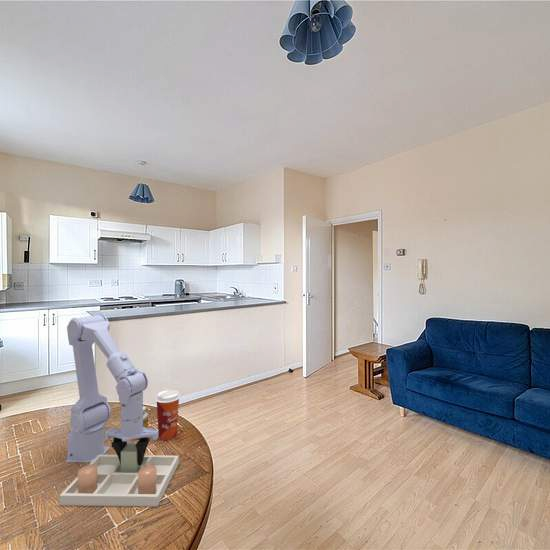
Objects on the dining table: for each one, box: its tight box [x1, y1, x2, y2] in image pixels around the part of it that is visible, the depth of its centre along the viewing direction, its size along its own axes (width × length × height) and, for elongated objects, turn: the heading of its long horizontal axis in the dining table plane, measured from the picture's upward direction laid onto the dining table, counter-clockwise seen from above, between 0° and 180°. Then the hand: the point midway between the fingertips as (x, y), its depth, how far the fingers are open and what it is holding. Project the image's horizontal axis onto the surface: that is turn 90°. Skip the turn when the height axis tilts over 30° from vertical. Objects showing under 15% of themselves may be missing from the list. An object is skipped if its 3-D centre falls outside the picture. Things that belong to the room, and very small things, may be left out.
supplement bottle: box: [143, 405, 149, 428], centre depth 107 cm, size 5×5×10 cm
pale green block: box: [121, 442, 143, 473], centre depth 86 cm, size 4×4×6 cm
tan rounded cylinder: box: [77, 464, 98, 494], centre depth 78 cm, size 4×4×6 cm
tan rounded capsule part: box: [138, 465, 157, 494], centre depth 78 cm, size 4×4×6 cm
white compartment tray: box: [58, 454, 180, 508], centre depth 82 cm, size 24×16×3 cm
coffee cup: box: [155, 389, 181, 441], centre depth 106 cm, size 8×8×15 cm
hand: (131, 463), depth 86 cm, fingers closed on pale green block, 4 cm apart
